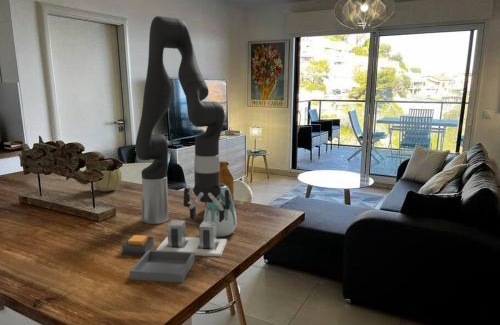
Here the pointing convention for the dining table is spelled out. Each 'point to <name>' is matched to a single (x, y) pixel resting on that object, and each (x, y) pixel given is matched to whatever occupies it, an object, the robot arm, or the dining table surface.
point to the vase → (213, 216)
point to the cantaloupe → (109, 181)
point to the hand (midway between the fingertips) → (207, 220)
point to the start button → (138, 240)
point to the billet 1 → (176, 234)
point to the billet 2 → (207, 235)
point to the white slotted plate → (195, 247)
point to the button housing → (138, 247)
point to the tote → (163, 266)
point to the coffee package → (226, 178)
